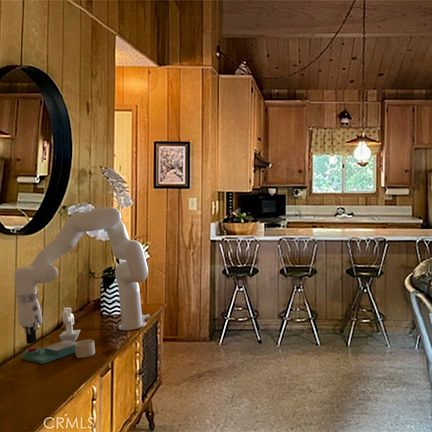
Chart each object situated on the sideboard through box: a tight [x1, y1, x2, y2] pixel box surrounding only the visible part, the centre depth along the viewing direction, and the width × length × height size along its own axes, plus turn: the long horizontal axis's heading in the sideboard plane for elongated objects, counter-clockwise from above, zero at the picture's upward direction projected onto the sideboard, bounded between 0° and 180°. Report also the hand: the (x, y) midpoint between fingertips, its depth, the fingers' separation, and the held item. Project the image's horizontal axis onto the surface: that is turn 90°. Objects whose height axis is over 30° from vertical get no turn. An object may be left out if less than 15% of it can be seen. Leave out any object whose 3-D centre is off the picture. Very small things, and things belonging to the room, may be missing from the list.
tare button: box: [27, 345, 38, 352], centre depth 198 cm, size 3×3×2 cm
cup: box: [74, 339, 96, 359], centre depth 198 cm, size 7×7×5 cm
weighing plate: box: [42, 340, 78, 359], centre depth 201 cm, size 10×10×4 cm
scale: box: [22, 347, 59, 365], centre depth 200 cm, size 16×14×3 cm
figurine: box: [58, 307, 81, 342], centre depth 218 cm, size 7×9×15 cm
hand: (31, 342), depth 198 cm, fingers closed
